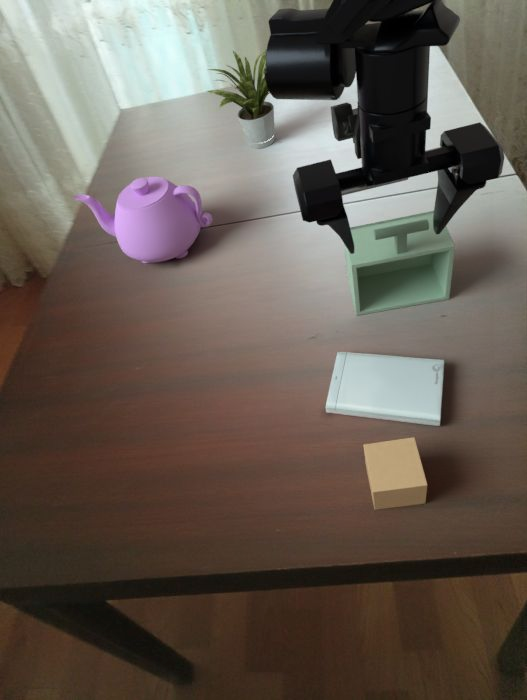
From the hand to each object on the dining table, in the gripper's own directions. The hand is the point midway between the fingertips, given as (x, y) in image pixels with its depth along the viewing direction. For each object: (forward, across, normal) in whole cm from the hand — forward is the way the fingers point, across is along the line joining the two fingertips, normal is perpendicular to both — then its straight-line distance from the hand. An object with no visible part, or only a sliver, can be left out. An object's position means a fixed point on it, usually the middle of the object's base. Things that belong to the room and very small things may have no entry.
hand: (393, 241), depth 54 cm
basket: (+7, -2, -9) cm, 11 cm away
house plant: (+13, +12, -54) cm, 57 cm away
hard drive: (+13, +4, +10) cm, 17 cm away
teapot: (+13, +32, -27) cm, 44 cm away
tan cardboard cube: (+13, +6, +21) cm, 26 cm away
